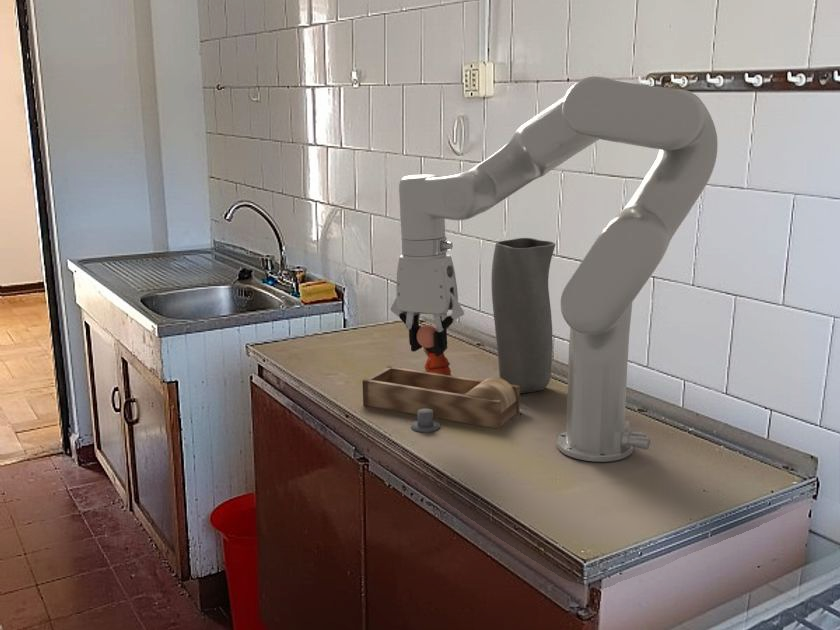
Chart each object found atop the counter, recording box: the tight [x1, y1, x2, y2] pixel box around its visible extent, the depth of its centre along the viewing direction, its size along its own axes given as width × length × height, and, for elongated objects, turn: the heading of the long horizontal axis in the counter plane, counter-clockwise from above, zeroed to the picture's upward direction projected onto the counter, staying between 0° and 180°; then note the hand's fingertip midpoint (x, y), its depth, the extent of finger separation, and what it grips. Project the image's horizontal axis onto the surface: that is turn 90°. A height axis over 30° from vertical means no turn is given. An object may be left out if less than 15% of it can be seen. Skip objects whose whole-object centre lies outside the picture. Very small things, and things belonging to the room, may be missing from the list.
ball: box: [417, 324, 436, 348], centre depth 151 cm, size 4×4×4 cm
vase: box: [491, 237, 556, 395], centre depth 171 cm, size 12×12×30 cm
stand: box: [410, 409, 441, 433], centre depth 155 cm, size 5×5×3 cm
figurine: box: [422, 346, 452, 376], centre depth 176 cm, size 6×6×12 cm
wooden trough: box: [362, 365, 521, 429], centre depth 164 cm, size 28×10×8 cm, turn 62°
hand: (428, 349), depth 152 cm, fingers closed on ball, 4 cm apart
